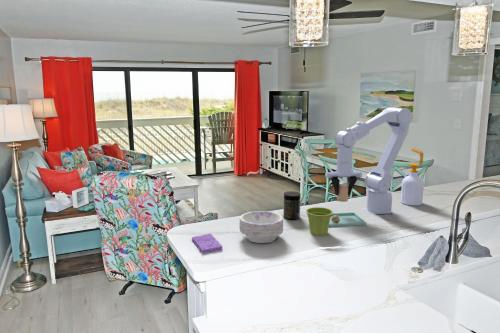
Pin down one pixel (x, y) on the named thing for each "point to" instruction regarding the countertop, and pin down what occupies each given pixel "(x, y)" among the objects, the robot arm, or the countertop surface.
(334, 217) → the ball
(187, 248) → the countertop surface
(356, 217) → the tray
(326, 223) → the plant pot
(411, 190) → the soap bottle
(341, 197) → the shaker
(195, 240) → the sponges
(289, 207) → the supplement container
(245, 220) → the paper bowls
